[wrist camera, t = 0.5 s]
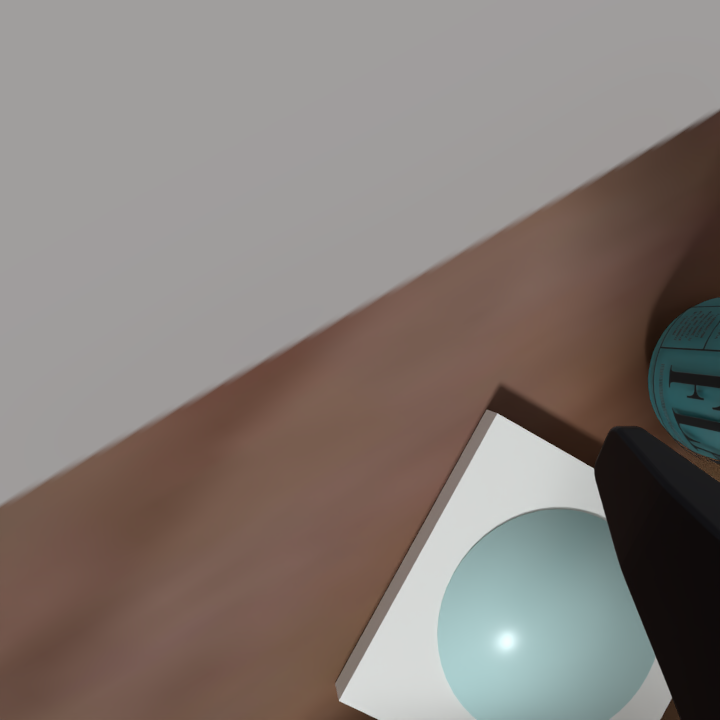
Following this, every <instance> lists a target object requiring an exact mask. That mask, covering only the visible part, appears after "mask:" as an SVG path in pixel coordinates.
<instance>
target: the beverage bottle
mask: <svg viewBox="0 0 720 720" xmlns="http://www.w3.org/2000/svg"><path fill="white" fill-rule="evenodd" d="M648 387H649V395H650V400H651V403H652V406H653V409H654V411H655V413H656V416H657V417H658V419H659V421H660V422H661V424H662V425H663V427H664V428H665V429H666V430H667V431H668V433H669V434H670V435H671V436H672V437H674V438H675V439H676V440H678V441H679V442H680V443H682V444H683V445H684V446H686V447H687V448H688V449H689V450H691V451H693V452H694V454H695V452H696V455H697V453H698V454H701V455H704V456H706V458H707V457H710V458H713V459H717V460H720V297H718V298H714V299H710V300H707V301H704V302H702V303H700V304H698V305H696V306H694V307H691V308H689V309H687V310H686V311H685V312H683V313H682V314H681V315H679V316H678V317H677V318H676V319H675V320H674V321H673V322H672V323H671V324H670V325H669V326H668V327H667V328H666V330H665V331H664V332H663V334H662V335H661V337H660V339H659V341H658V342H657V345H656V347H655V349H654V352H653V355H652V358H651V362H650V367H649V376H648ZM674 438H673V439H674ZM675 439H674V440H675ZM676 440H675V441H676ZM676 442H677V441H676ZM677 443H678V442H677ZM678 444H679V443H678ZM679 445H680V444H679ZM680 446H681V445H680ZM681 447H682V446H681ZM682 448H683V447H682ZM685 450H686V449H685ZM686 451H687V450H686ZM688 452H689V451H688ZM689 453H690V452H689ZM692 455H693V454H692ZM694 456H695V455H694ZM697 456H698V455H697ZM697 456H696V457H697ZM699 456H700V455H699ZM700 457H701V456H700ZM698 458H699V457H698ZM700 459H701V458H700ZM708 459H709V458H708ZM710 460H711V459H710ZM707 461H708V460H707ZM712 461H713V462H715V464H716V463H717V464H720V461H714V460H712ZM708 462H709V461H708ZM710 462H711V461H710ZM713 462H712V463H713Z"/></svg>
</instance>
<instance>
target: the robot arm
mask: <svg viewBox="0 0 720 720" xmlns="http://www.w3.org/2000/svg"><path fill="white" fill-rule="evenodd" d="M594 476H595V481H596V484H597V488H598V492H599V495H600V499H601V502H602V506H603V509H604V513H605V517H606V520H607V524H608V527H609V531H610V535H611V538H612V542H613V545H614V549H615V552H616V556H617V559H618V562H619V565H620V568H621V571H622V573H623V576H624V579H625V581H626V584H627V586H628V589H629V591H630V594H631V596H632V599H633V601H634V604H635V606H636V609H637V611H638V614H639V616H640V619H641V621H642V624H643V626H644V629H645V631H646V634H647V636H648V639H649V641H650V644H651V646H652V649H653V651H654V654H655V656H656V659H657V661H658V664H659V666H660V669H661V671H662V674H663V676H664V679H665V681H666V684H667V686H668V689H669V691H670V694H671V696H672V699H673V701H674V704H675V706H676V709H677V711H678V714H679V716H680V719H681V720H720V483H719V482H718V481H717V480H715V479H714V478H712V477H711V476H709V475H708V474H707V473H705V472H704V471H702V470H701V469H700V468H698V467H697V466H695V465H694V464H692V463H691V462H690V461H688V460H687V459H685V458H684V457H682V456H681V455H680V454H678V453H677V452H675V451H674V450H673V449H671V448H670V447H668V446H667V445H665V444H664V443H663V442H661V441H660V440H658V439H657V438H656V437H654V436H653V435H651V434H650V433H648V432H647V431H646V430H644V429H642V428H641V427H637V426H616V427H613V428H612V429H611V430H610V431H609V433H608V435H607V437H606V439H605V441H604V444H603V446H602V448H601V451H600V453H599V455H598V458H597V460H596V462H595V467H594Z"/></svg>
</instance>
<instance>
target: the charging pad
mask: <svg viewBox="0 0 720 720" xmlns="http://www.w3.org/2000/svg"><path fill="white" fill-rule="evenodd" d="M335 685H336V690H337V695H338V699H339V701H340V702H342V703H345V704H347V705H349V706H351V707H353V708H355V709H357V710H359V711H361V712H364V713H366V714H368V715H370V716H372V717H374V718H376V719H378V720H660V719H661V717H662V716H663V714H664V712H665V710H666V708H667V706H668V704H669V703H670V701H671V699H672V696H671V694H670V691H669V689H668V686H667V684H666V681H665V679H664V676H663V674H662V671H661V669H660V666H659V664H658V661H657V659H656V656H655V654H654V651H653V649H652V646H651V644H650V641H649V639H648V636H647V634H646V631H645V629H644V626H643V624H642V621H641V619H640V616H639V614H638V611H637V609H636V606H635V604H634V601H633V599H632V596H631V594H630V591H629V589H628V586H627V584H626V581H625V579H624V576H623V573H622V571H621V568H620V565H619V562H618V559H617V556H616V552H615V549H614V545H613V542H612V538H611V535H610V531H609V527H608V524H607V520H606V517H605V513H604V509H603V506H602V502H601V499H600V495H599V492H598V488H597V484H596V481H595V476H594V468H592V467H590V466H588V465H587V464H585V463H583V462H582V461H580V460H578V459H576V458H575V457H573V456H571V455H569V454H568V453H566V452H564V451H562V450H561V449H559V448H557V447H555V446H554V445H552V444H550V443H548V442H547V441H545V440H543V439H541V438H540V437H538V436H536V435H534V434H533V433H531V432H529V431H527V430H526V429H524V428H522V427H520V426H519V425H517V424H515V423H513V422H512V421H510V420H508V419H506V418H505V417H503V416H501V415H499V414H498V413H495V412H492V411H490V410H486V411H485V413H484V415H483V417H482V419H481V420H480V422H479V424H478V426H477V428H476V429H475V431H474V433H473V435H472V437H471V439H470V440H469V442H468V444H467V446H466V448H465V449H464V451H463V453H462V455H461V457H460V458H459V460H458V462H457V464H456V466H455V467H454V469H453V471H452V473H451V475H450V477H449V478H448V480H447V482H446V484H445V486H444V487H443V489H442V491H441V493H440V495H439V496H438V498H437V500H436V502H435V504H434V505H433V507H432V509H431V511H430V513H429V515H428V516H427V518H426V520H425V522H424V524H423V525H422V527H421V529H420V531H419V533H418V534H417V536H416V538H415V540H414V542H413V544H412V545H411V547H410V549H409V551H408V553H407V554H406V556H405V558H404V560H403V562H402V563H401V565H400V567H399V569H398V571H397V572H396V574H395V576H394V578H393V580H392V582H391V583H390V585H389V587H388V589H387V591H386V592H385V594H384V596H383V598H382V600H381V601H380V603H379V605H378V607H377V609H376V610H375V612H374V614H373V616H372V618H371V620H370V621H369V623H368V625H367V627H366V629H365V630H364V632H363V634H362V636H361V638H360V639H359V641H358V643H357V645H356V647H355V648H354V650H353V652H352V654H351V656H350V658H349V659H348V661H347V663H346V665H345V667H344V668H343V670H342V672H341V674H340V676H339V677H338V679H337V681H336V683H335Z"/></svg>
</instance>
